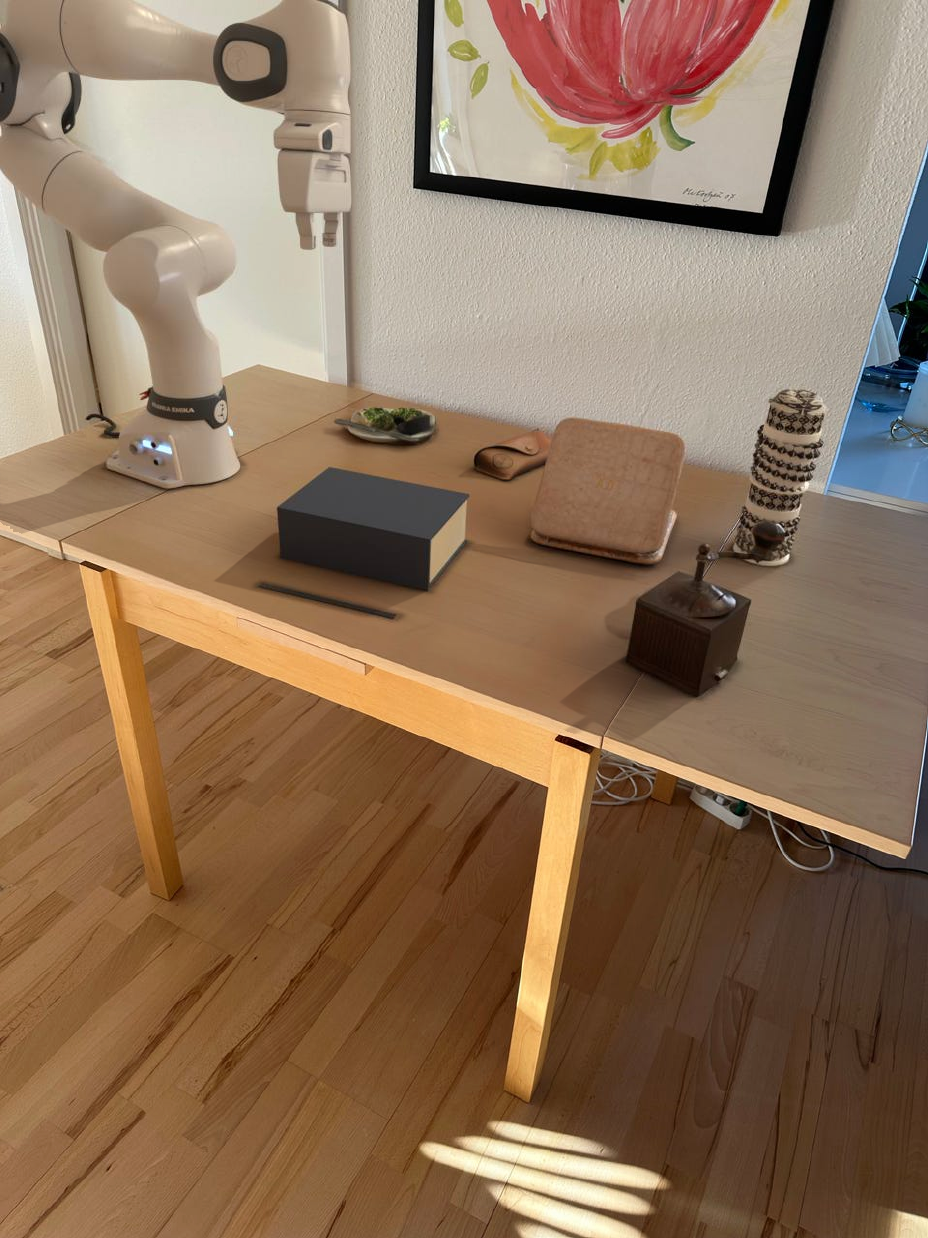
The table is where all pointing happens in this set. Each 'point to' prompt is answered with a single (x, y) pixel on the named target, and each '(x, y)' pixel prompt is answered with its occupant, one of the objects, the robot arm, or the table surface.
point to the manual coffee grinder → (695, 621)
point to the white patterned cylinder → (782, 468)
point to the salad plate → (391, 425)
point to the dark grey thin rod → (328, 600)
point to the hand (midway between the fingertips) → (319, 247)
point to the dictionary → (373, 527)
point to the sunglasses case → (513, 455)
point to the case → (608, 490)
